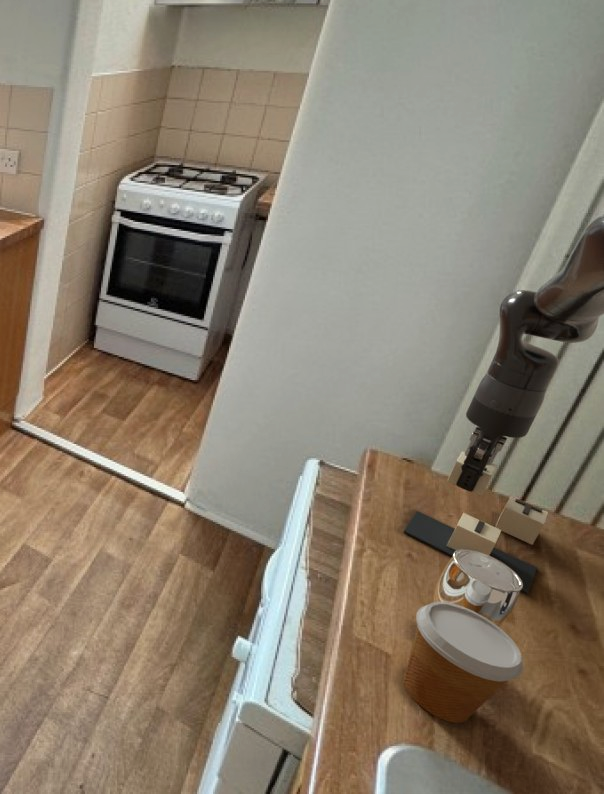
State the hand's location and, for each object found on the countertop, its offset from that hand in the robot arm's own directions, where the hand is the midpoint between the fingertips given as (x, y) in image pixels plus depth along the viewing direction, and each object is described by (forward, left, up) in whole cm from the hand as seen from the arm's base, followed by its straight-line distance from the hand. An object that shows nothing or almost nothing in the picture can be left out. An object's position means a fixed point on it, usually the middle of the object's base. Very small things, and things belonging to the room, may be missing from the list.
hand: (467, 481), depth 108 cm
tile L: (0, 0, 0) cm, 0 cm away
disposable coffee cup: (-7, +49, -5) cm, 50 cm away
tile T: (-8, 0, -5) cm, 9 cm away
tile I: (-4, +13, -5) cm, 14 cm away
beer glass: (-6, +39, -5) cm, 40 cm away
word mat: (-4, +13, -5) cm, 15 cm away
